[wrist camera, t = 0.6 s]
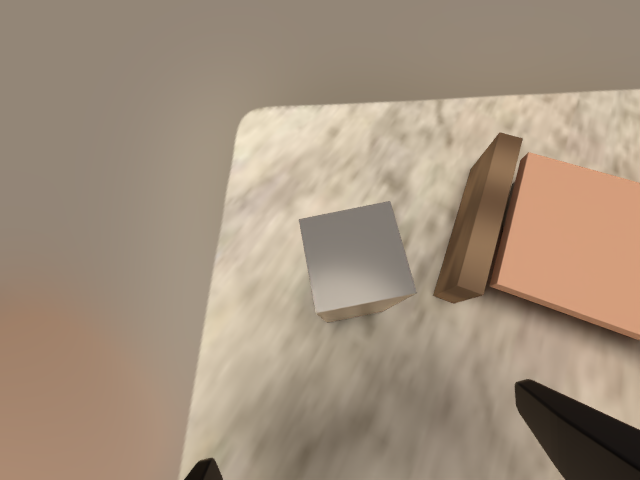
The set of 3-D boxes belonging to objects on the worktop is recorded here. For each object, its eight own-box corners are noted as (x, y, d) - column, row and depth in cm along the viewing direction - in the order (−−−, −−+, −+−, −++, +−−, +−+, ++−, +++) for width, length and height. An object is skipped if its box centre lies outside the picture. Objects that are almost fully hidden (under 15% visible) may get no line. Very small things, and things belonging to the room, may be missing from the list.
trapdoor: (650, 358, 20) (722, 364, 16) (470, 292, 22) (497, 283, 18) (661, 228, 22) (727, 207, 19) (499, 180, 25) (528, 152, 21)
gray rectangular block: (382, 311, 23) (416, 293, 13) (327, 322, 23) (315, 313, 13) (369, 258, 24) (390, 200, 14) (316, 268, 24) (298, 219, 14)
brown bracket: (670, 385, 20) (771, 400, 15) (433, 295, 23) (457, 285, 18) (680, 231, 23) (768, 204, 19) (470, 169, 26) (499, 132, 21)
